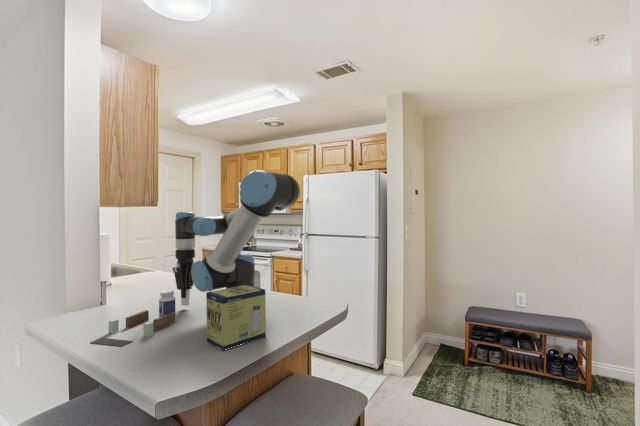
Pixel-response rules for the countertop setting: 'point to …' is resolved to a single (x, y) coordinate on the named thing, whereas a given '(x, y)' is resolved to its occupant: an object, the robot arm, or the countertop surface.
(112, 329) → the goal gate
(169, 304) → the pill bottle
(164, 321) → the lane
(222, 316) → the protein box
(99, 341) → the mat
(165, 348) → the countertop surface
